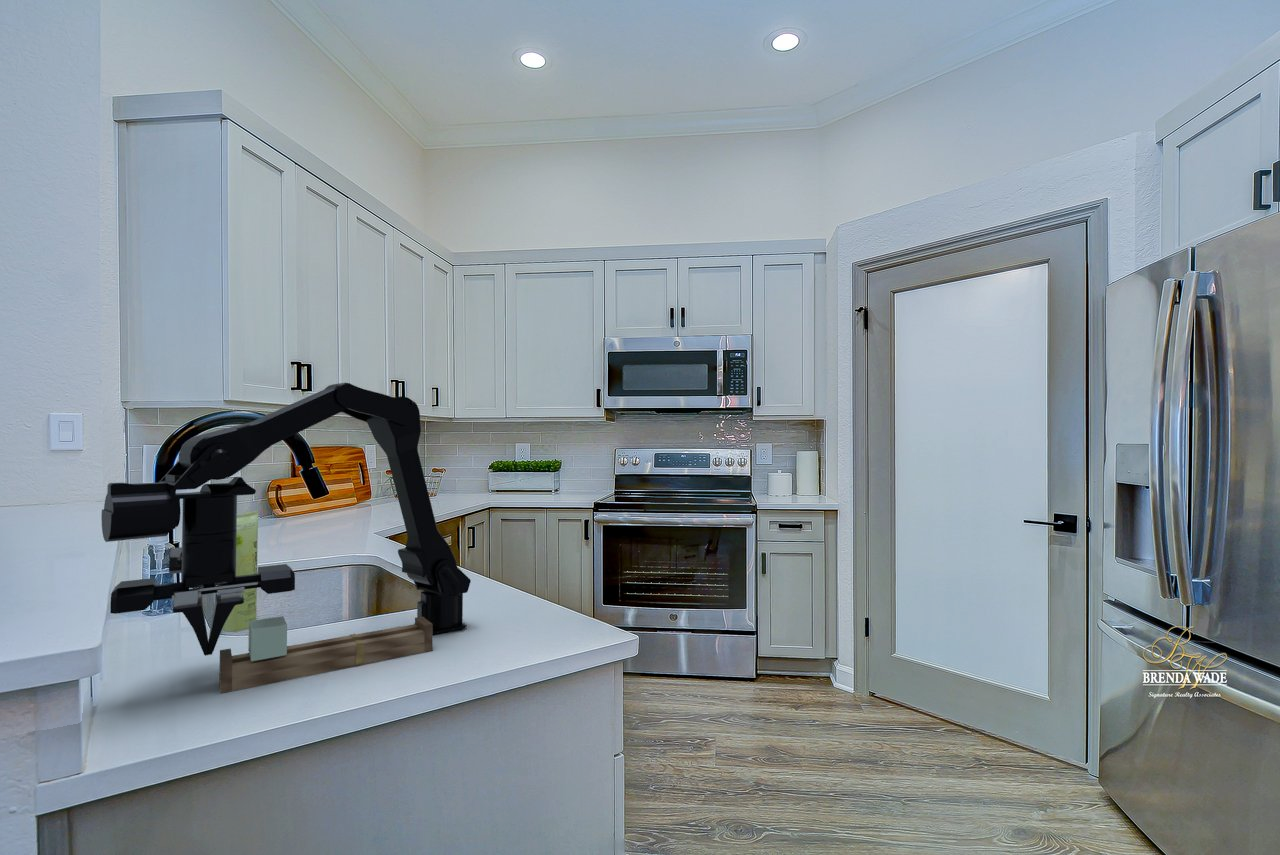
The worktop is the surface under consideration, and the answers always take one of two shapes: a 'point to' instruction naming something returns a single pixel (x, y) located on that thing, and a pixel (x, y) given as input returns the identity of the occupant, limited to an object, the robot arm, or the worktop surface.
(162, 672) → the worktop surface
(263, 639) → the block
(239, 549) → the tube
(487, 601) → the worktop surface
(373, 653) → the rail
